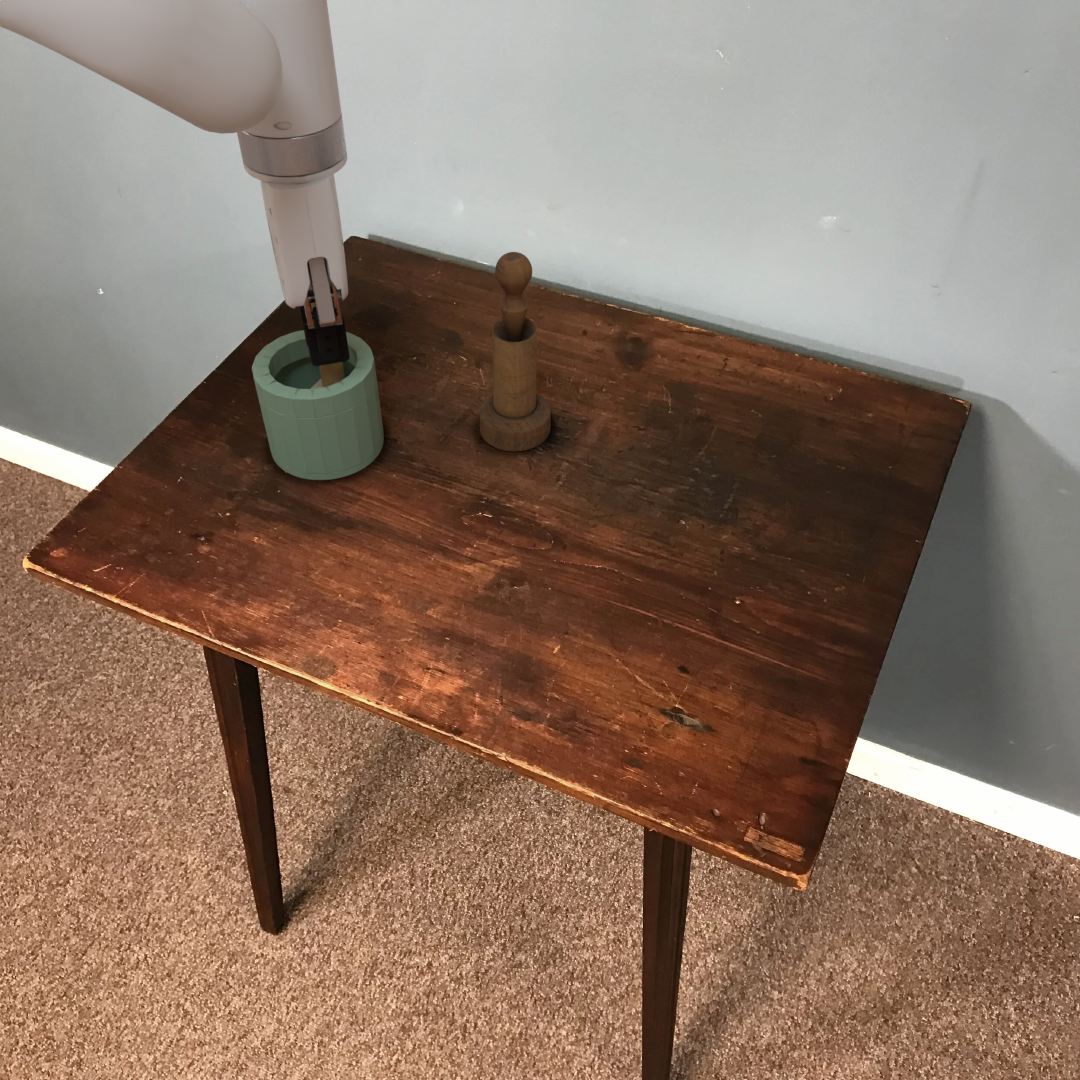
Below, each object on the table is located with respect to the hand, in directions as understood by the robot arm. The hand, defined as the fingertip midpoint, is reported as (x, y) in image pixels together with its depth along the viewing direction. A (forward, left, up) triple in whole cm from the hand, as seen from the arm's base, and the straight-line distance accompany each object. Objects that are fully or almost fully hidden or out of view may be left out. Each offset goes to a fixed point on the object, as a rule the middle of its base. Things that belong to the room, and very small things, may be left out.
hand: (328, 351), depth 88 cm
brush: (0, 0, -8) cm, 8 cm away
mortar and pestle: (+16, -3, -10) cm, 19 cm away
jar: (-1, 0, -10) cm, 10 cm away
